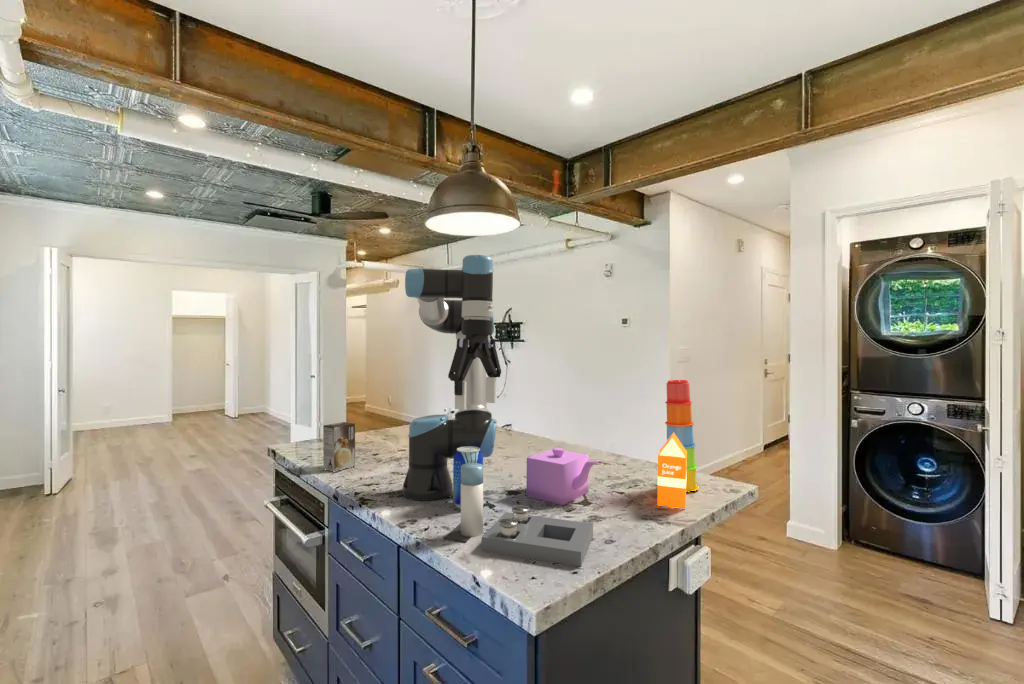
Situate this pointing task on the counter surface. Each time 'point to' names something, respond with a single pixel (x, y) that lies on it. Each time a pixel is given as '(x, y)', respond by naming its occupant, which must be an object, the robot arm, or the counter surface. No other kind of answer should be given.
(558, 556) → the housing
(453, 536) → the mat
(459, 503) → the beer can
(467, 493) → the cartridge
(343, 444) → the coffee box
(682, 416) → the stacking cups
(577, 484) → the teapot
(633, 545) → the counter surface
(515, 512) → the plunger far
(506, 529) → the chrome dome knob
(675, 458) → the orange juice
